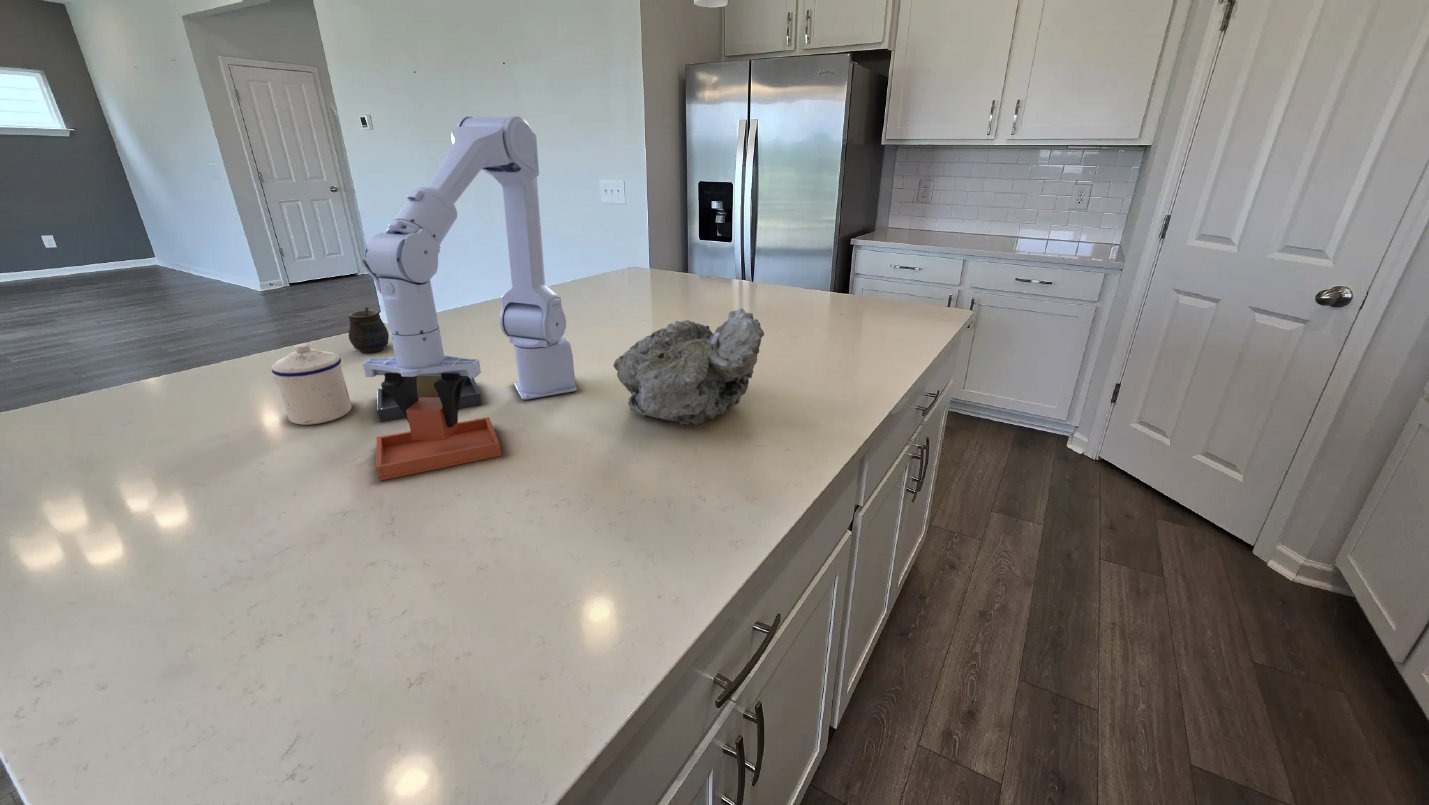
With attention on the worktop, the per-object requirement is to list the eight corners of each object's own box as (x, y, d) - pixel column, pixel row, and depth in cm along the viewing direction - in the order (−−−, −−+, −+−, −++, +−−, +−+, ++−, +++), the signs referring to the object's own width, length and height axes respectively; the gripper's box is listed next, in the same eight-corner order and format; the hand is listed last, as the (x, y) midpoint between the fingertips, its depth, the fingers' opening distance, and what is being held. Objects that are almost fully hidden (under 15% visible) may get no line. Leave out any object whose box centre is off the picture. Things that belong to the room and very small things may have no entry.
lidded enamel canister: (366, 406, 97) (349, 339, 92) (318, 429, 89) (296, 357, 84) (311, 397, 100) (292, 332, 96) (259, 419, 92) (235, 349, 88)
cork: (434, 408, 95) (421, 344, 91) (401, 404, 97) (387, 341, 92) (456, 394, 101) (445, 333, 96) (425, 391, 102) (413, 330, 98)
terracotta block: (412, 440, 79) (405, 410, 78) (427, 426, 84) (421, 397, 82) (445, 440, 79) (439, 410, 78) (458, 426, 84) (453, 397, 82)
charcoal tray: (474, 385, 106) (472, 374, 105) (481, 404, 98) (480, 393, 98) (380, 399, 100) (377, 388, 99) (379, 421, 92) (377, 410, 91)
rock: (670, 301, 106) (762, 273, 86) (716, 379, 112) (812, 369, 92) (572, 375, 94) (652, 362, 74) (628, 458, 100) (717, 466, 80)
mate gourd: (381, 342, 129) (371, 297, 125) (399, 348, 125) (389, 302, 121) (346, 350, 123) (334, 304, 119) (364, 357, 119) (352, 309, 115)
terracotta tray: (491, 428, 90) (489, 416, 89) (501, 455, 82) (499, 443, 81) (379, 449, 83) (376, 437, 83) (379, 481, 76) (375, 467, 75)
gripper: (340, 338, 72) (365, 436, 77) (459, 338, 72) (476, 437, 77) (371, 322, 78) (392, 414, 84) (479, 323, 78) (493, 414, 84)
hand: (434, 423), depth 81 cm, fingers closed on terracotta block, 4 cm apart
